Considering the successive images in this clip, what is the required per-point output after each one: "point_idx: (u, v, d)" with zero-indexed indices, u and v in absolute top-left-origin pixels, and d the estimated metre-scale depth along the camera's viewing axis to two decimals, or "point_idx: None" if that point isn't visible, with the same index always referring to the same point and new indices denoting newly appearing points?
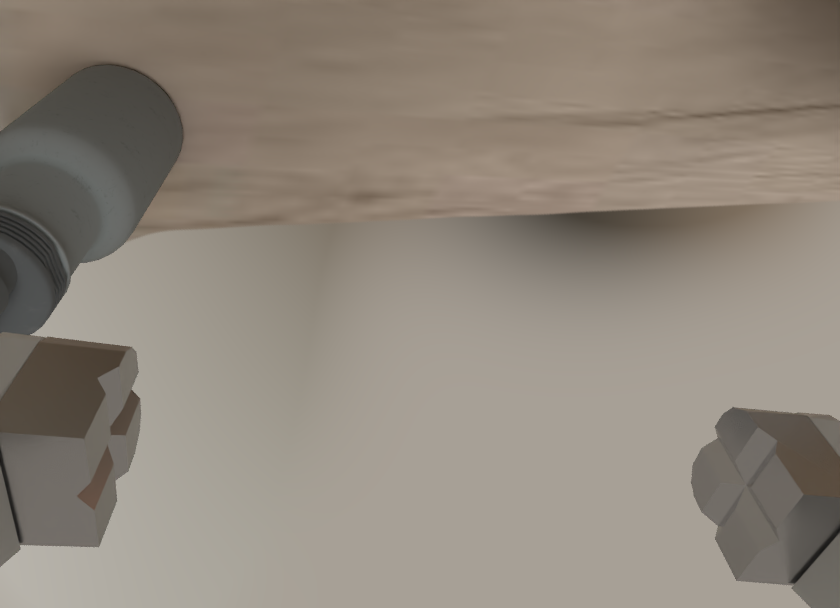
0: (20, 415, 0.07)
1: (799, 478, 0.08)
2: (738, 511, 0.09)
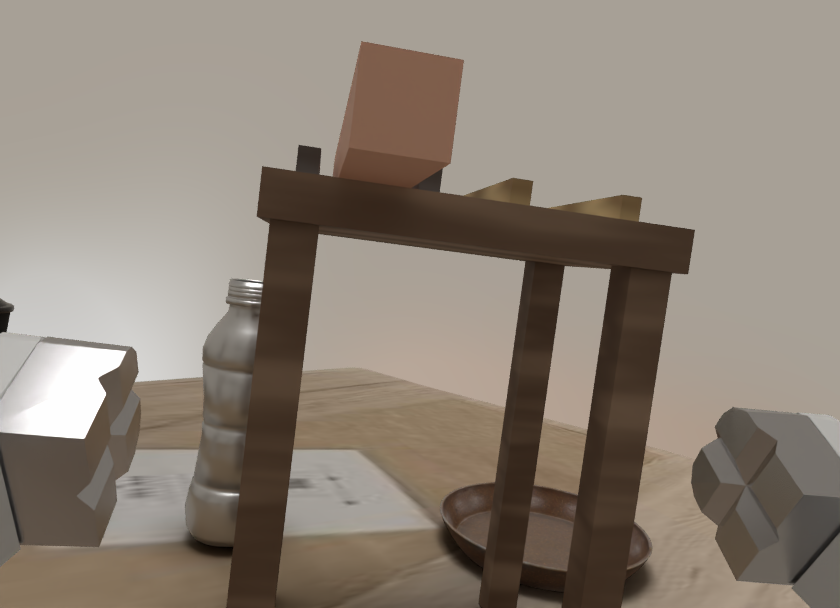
0: (21, 415, 0.07)
1: (799, 478, 0.08)
2: (738, 511, 0.09)
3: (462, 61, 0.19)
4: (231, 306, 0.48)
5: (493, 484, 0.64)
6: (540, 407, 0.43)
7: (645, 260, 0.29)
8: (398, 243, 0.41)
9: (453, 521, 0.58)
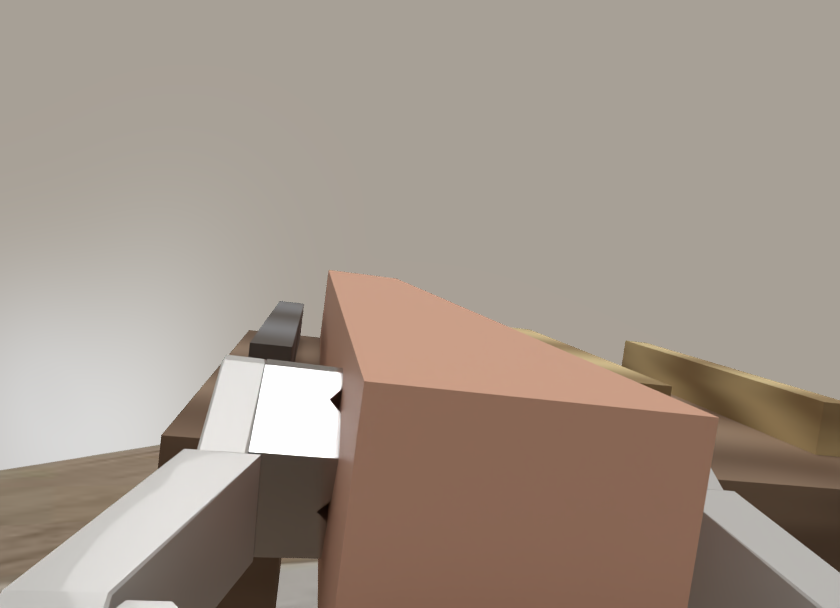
0: (278, 435, 0.07)
1: None
2: None
3: (714, 422, 0.06)
4: None
5: None
6: None
7: None
8: None
9: None
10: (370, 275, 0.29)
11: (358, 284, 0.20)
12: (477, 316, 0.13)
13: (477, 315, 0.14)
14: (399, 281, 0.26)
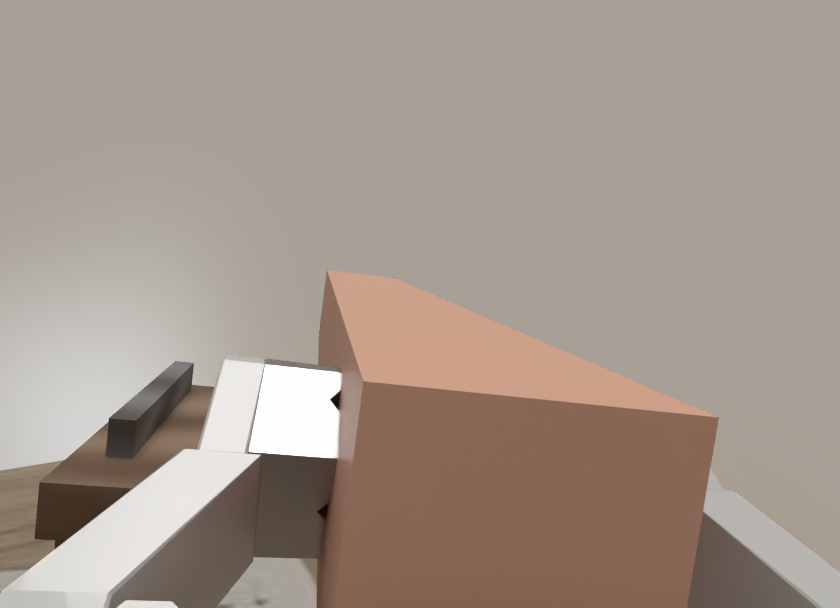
0: (278, 436, 0.07)
1: None
2: None
3: (714, 421, 0.06)
4: None
5: None
6: None
7: None
8: None
9: None
10: (368, 275, 0.29)
11: (356, 284, 0.20)
12: (476, 316, 0.13)
13: (476, 315, 0.13)
14: (397, 281, 0.26)
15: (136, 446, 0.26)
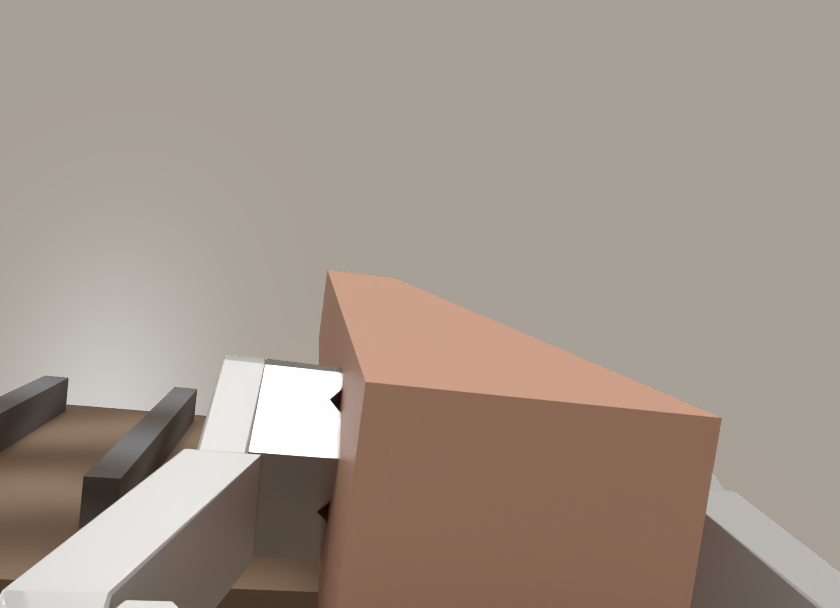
0: (278, 436, 0.07)
1: None
2: None
3: (717, 422, 0.05)
4: None
5: None
6: None
7: None
8: None
9: None
10: (369, 275, 0.29)
11: (357, 284, 0.20)
12: (477, 316, 0.13)
13: (477, 315, 0.13)
14: (398, 281, 0.26)
15: None
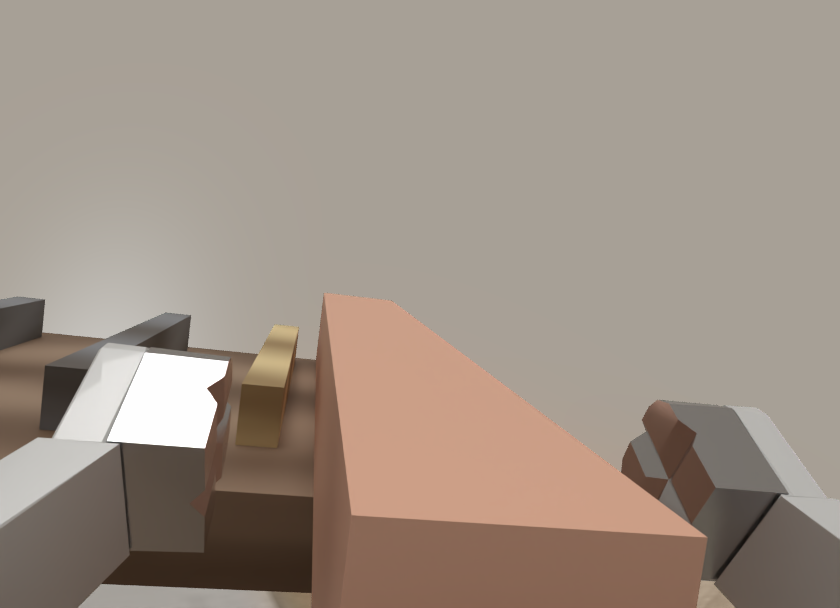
0: (141, 425, 0.07)
1: (713, 471, 0.08)
2: None
3: (703, 542, 0.06)
4: None
5: None
6: None
7: None
8: None
9: None
10: (365, 298, 0.29)
11: (353, 318, 0.20)
12: (471, 366, 0.13)
13: (471, 364, 0.13)
14: (394, 306, 0.26)
15: None
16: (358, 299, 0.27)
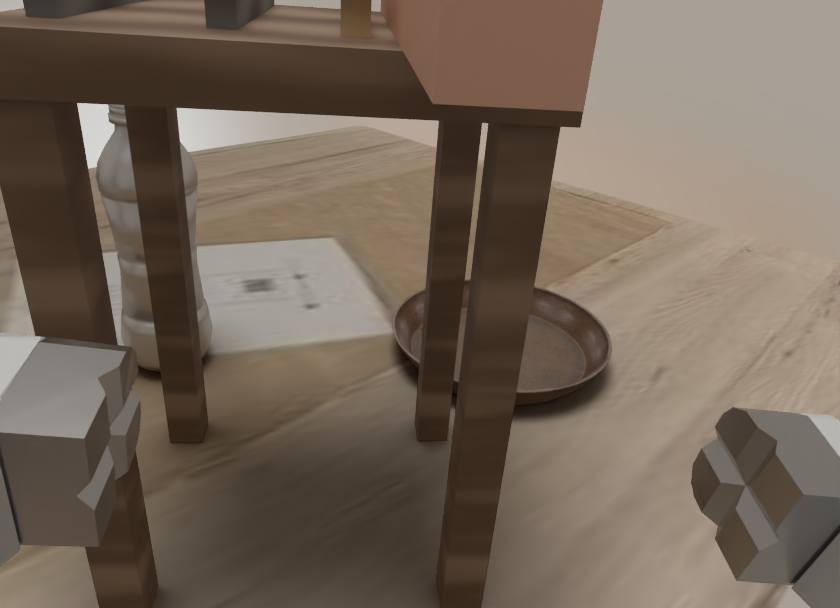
0: (21, 415, 0.07)
1: (799, 478, 0.08)
2: (738, 511, 0.09)
3: None
4: (115, 124, 0.41)
5: None
6: (464, 239, 0.37)
7: (518, 113, 0.21)
8: None
9: (411, 327, 0.56)
10: None
11: None
12: None
13: None
14: None
15: (62, 6, 0.21)
16: None
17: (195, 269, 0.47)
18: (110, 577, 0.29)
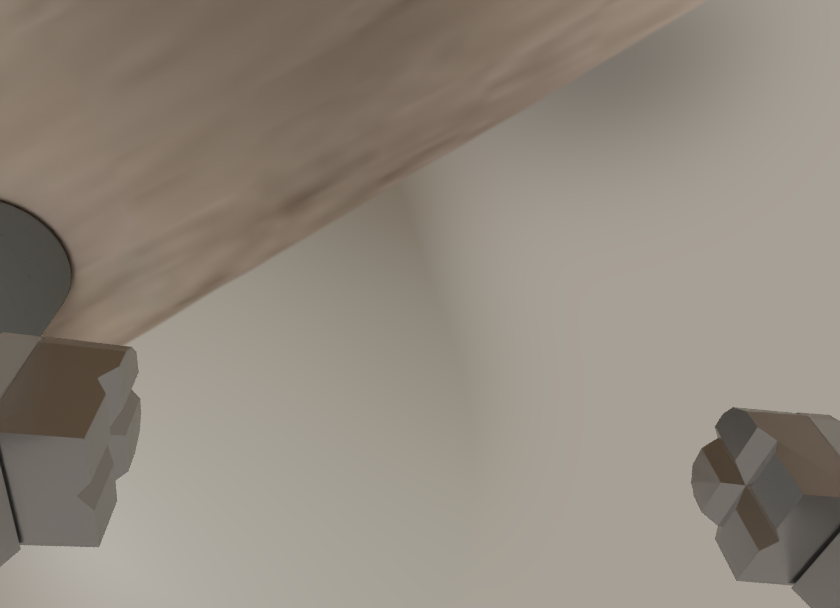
0: (20, 414, 0.07)
1: (799, 478, 0.08)
2: (738, 511, 0.09)
3: None
4: None
5: None
6: None
7: None
8: None
9: None
10: None
11: None
12: None
13: None
14: None
15: None
16: None
17: None
18: None
